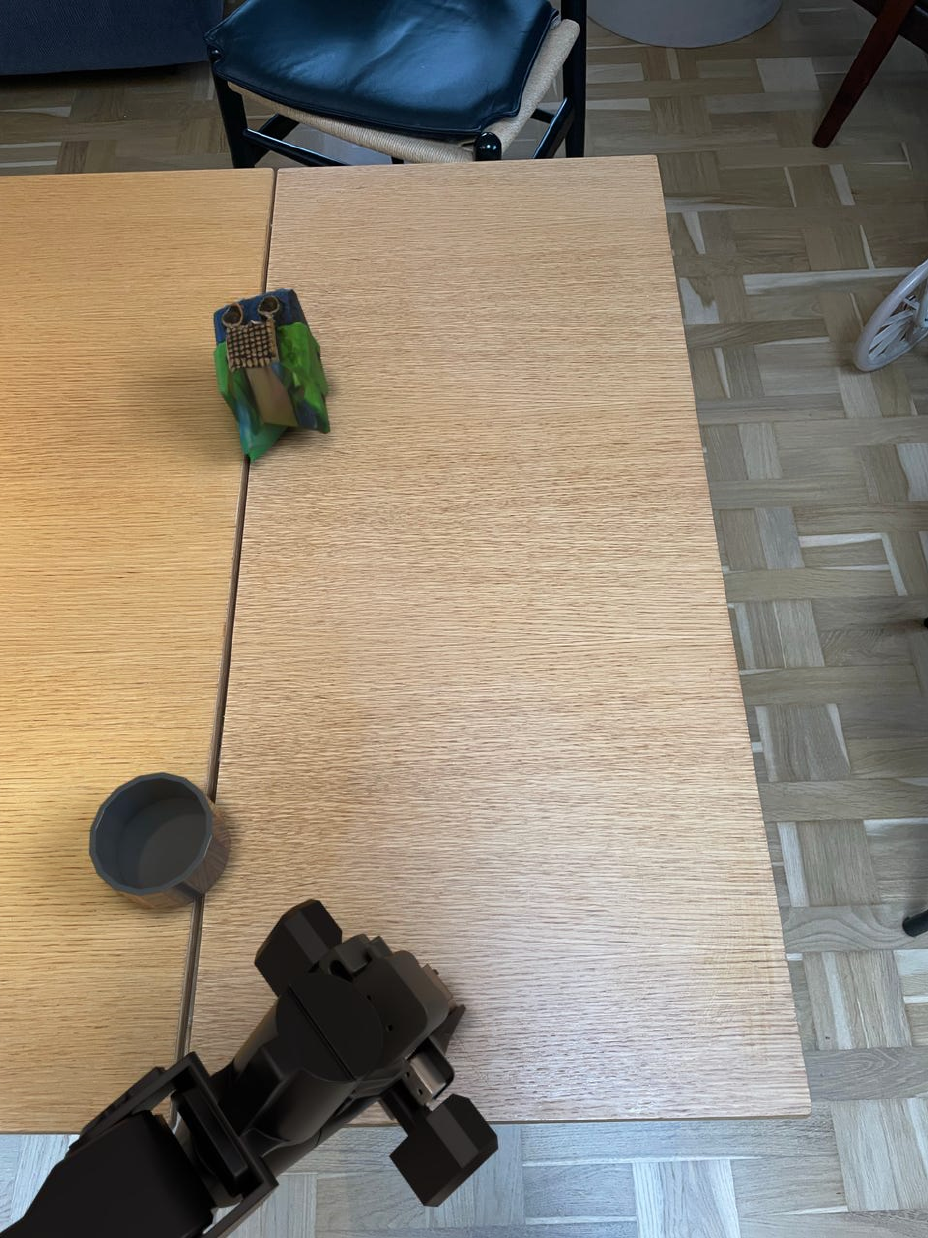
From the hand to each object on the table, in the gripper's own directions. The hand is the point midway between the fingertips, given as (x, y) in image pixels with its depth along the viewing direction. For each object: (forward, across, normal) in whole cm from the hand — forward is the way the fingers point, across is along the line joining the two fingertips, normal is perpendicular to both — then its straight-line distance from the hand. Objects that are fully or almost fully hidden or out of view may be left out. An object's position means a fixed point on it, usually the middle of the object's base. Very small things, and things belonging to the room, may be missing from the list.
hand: (448, 992), depth 67 cm
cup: (-2, +24, +12) cm, 27 cm away
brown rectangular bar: (+4, 0, +6) cm, 7 cm away
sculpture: (+21, +55, -11) cm, 60 cm away
